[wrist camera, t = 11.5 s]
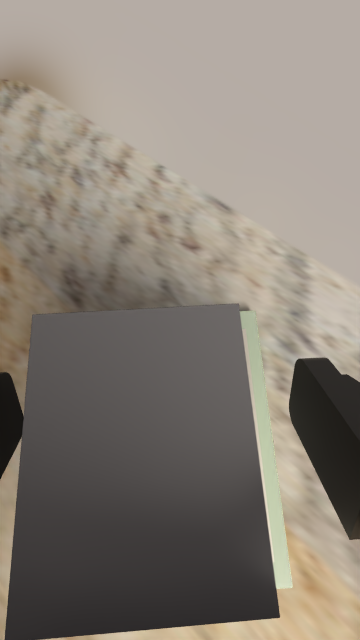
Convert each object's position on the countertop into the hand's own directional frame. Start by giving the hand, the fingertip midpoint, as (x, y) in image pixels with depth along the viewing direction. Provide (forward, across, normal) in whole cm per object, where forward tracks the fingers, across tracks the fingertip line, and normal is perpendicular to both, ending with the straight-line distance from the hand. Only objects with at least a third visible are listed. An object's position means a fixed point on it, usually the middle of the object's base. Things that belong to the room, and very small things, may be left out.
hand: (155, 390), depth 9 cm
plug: (+4, 0, +6) cm, 7 cm away
